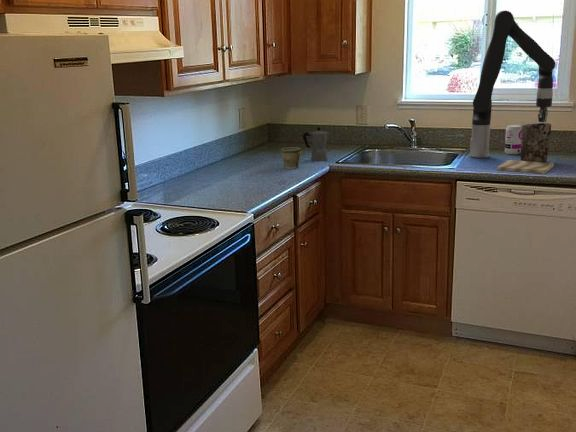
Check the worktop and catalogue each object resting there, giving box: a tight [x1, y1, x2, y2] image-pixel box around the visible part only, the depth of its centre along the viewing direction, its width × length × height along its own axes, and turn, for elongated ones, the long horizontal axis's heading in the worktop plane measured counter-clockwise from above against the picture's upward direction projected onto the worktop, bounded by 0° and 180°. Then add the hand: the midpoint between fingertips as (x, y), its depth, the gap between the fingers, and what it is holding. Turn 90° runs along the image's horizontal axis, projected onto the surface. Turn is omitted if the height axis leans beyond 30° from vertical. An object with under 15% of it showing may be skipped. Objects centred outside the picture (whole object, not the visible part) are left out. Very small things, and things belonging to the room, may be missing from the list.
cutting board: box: [496, 159, 555, 175], centre depth 305 cm, size 22×20×2 cm
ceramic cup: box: [280, 146, 305, 170], centre depth 321 cm, size 13×10×10 cm
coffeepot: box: [302, 126, 331, 162], centre depth 340 cm, size 15×9×18 cm, turn 99°
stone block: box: [520, 121, 552, 162], centre depth 316 cm, size 13×7×20 cm, turn 108°
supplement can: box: [504, 124, 522, 155], centre depth 342 cm, size 8×8×15 cm
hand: (541, 130), depth 327 cm, fingers closed
